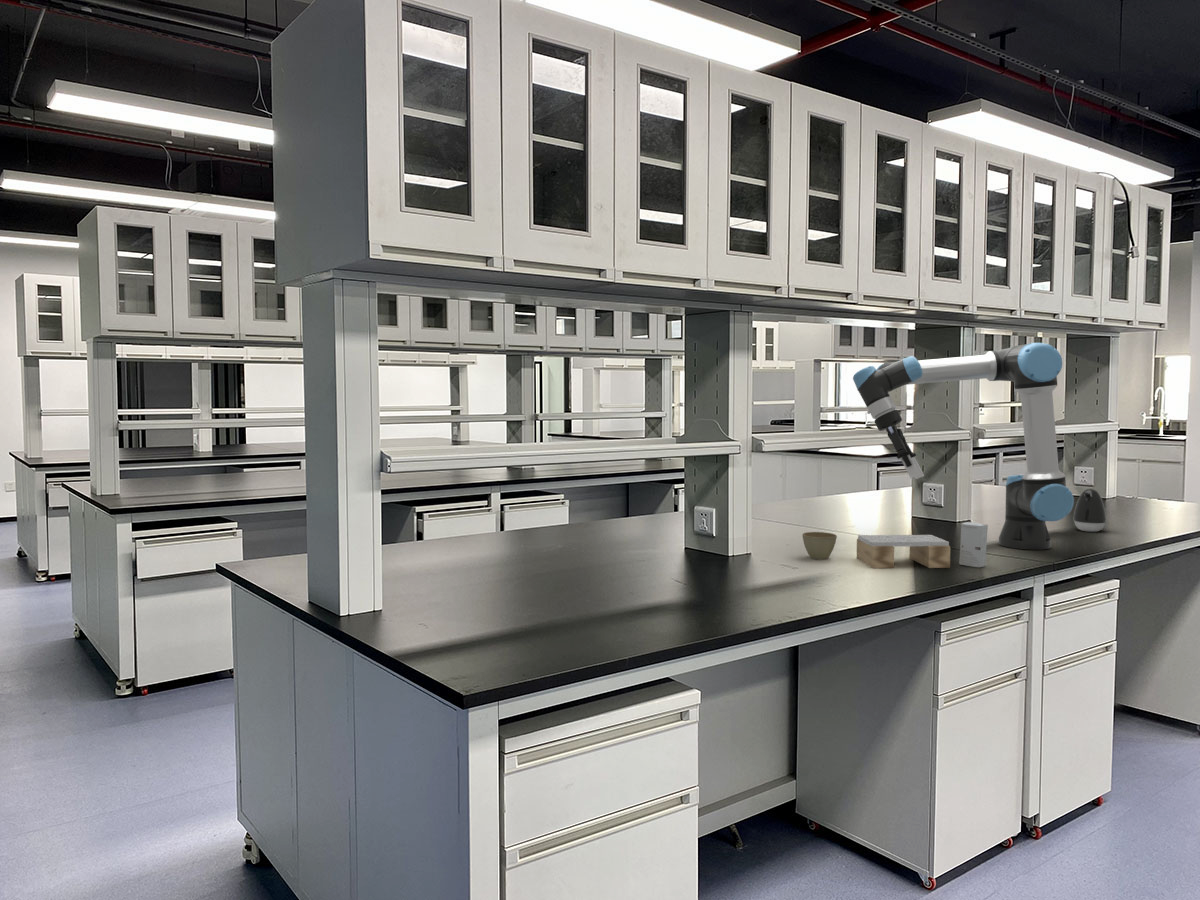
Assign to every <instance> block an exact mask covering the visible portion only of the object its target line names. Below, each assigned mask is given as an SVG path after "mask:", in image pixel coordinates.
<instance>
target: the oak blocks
mask: <svg viewBox="0 0 1200 900" xmlns="http://www.w3.org/2000/svg"><path fill="white" fill-rule="evenodd" d="M909 559H911V560H913V561H915V562H916V563H919V564H920V565H922V566H925V567H927V568H929V569H935V568H936V569H938V568H939V569H945V568H946V569H950V568H951V546H950V545H949V546H909ZM856 560H858V561H860V562H862V563H863V564H865V565H867V566H868V567H870V568H872V569H895V546H877V547H872V546H870V545H868V544H866V543H864V542H862V541H860V540H859V539H858V538H856Z"/></svg>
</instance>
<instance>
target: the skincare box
mask: <svg viewBox="0 0 1200 900" xmlns="http://www.w3.org/2000/svg"><path fill="white" fill-rule="evenodd" d="M988 528H989V525H988V524H985V523H980V522H979V523H978V522H969V521H966V522H962V523H961V525H960V542H959V543H960V546H959V562H958V564H959V565H961V566H967V567H972V568H982V567H986V563H987V561H986V560H987V541H988Z"/></svg>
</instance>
